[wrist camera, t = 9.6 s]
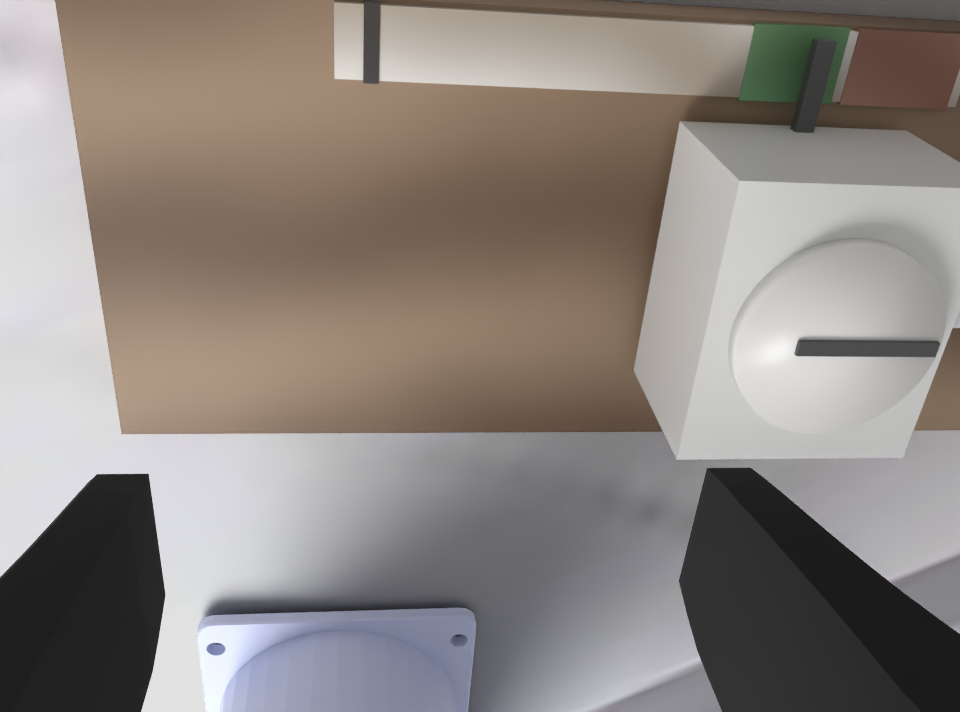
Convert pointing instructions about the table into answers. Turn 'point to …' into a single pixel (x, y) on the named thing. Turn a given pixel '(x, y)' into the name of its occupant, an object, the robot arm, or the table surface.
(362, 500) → the table surface
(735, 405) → the gauge
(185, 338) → the test bench
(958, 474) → the table surface
